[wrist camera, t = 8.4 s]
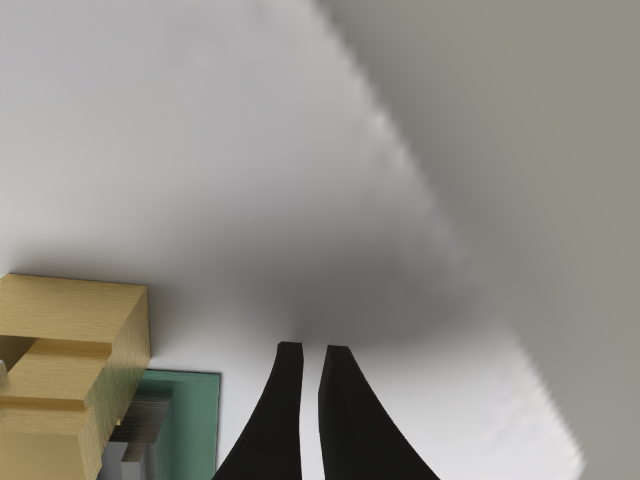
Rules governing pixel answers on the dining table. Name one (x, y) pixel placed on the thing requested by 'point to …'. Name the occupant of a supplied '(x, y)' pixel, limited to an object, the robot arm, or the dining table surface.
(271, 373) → the robot arm
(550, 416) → the dining table surface
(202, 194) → the dining table surface
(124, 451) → the block
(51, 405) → the clip
